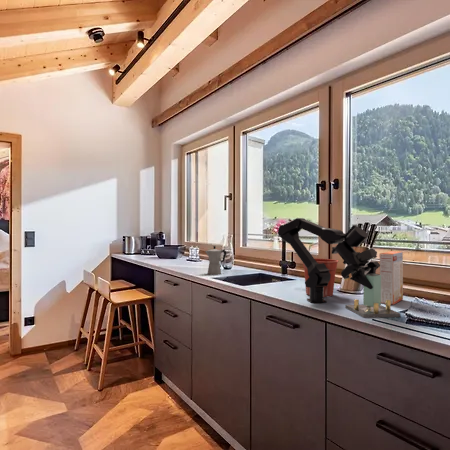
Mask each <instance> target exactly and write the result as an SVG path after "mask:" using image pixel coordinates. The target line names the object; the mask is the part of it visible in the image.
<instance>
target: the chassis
mask: <svg viewBox="0 0 450 450" xmlns="http://www.w3.org/2000/svg"><path fill="white" fill-rule="evenodd" d="M359 302H360V301H359V299H357V298H356V299H353V304H345V305H344V306H345V307H344V308H345V309H346V310H348V311H349V312H353V313H355V314H356V315H358V316H360V317H362V318H365V319H367V318H368V319H369V318H370V319H371V318H401V313H400V312H397V311H396V310H393V309H391V305H392V304H391V300H386V304H385V306H383V305H380V306H379V303H374V307H371V306H366V305H363V304H360V303H359Z"/></svg>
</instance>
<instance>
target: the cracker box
mask: <svg viewBox="0 0 450 450" xmlns="http://www.w3.org/2000/svg"><path fill="white" fill-rule="evenodd" d="M403 253H404V252H402V251H397V250H395V251H393V250H392V251H391V250H390V251H385V252H380V253H379V264H380V267H379V274H380V275H381V304H385V305H386V300H391V305H395V304H398V303H399V302H401V301H403V300H404V270H403V269H404V267H403V264H404V261H403V259H404V257H403V255H404V254H403Z"/></svg>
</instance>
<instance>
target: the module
mask: <svg viewBox="0 0 450 450" xmlns="http://www.w3.org/2000/svg"><path fill="white" fill-rule="evenodd" d="M365 276H366V277H367V279H368V280H369V282H370V283H371V285H372V286H373V288H372V289H369V288H367V287H365V286H363V295H362V296H363V304H362V305H366V306H371V307H374V303H379V306H380V305H381V304H382V303H381V275H380V273H379V274H378V273H376V274H365ZM381 306H382V305H381Z"/></svg>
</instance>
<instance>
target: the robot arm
mask: <svg viewBox="0 0 450 450" xmlns="http://www.w3.org/2000/svg"><path fill="white" fill-rule="evenodd" d="M302 230H304V231H306V232H309V233H311V234H313V235H316V236H318V237H319V238H320V239H321V240H322V241H323V242H325V243H326V244H328V245H335V246H332V247H331V254H332V255H337V254H338V255H339V256H340V258H341V259H342V260H343V261H342V263H343V265H346V266H345V267H344V268H343V270H341V271H340V272H341V273H340V274H341V277H342V278H343V279H344V280H346V279H350V281H354V282H356V283H358V284H360V285H362V286H363V287H364V286H365V287H367V288H369V289H372V288H373V286H372V285H371V283H370V282H369V280H368V279H367V277H366V276H365V274H377V273H376V272H377V270H378V269H380V262H379V261H377V260H375V261H369V260H372V259H376V258H378V256H377V255H378V251H377V250H376V249H374V248H373V247H372V248H368V249H366V250H363V251H361V252H359V251H358V252H357V251H356V250H355V249H354V248H359V246H361V244H363V242H364V241H365V240H366V239H367V238H368V237H369V235H368V233H367V231H366V230H363V228H361V227H359V226H358V225H356V224H353V225H352V226H351V227H350V229H349V230H348V231H347V232H346V233H344V232H343V231H342V230H341V229H335V228H331V227H330V228H329V227H324V226H322V225H319V224H318V223H314V222H312V221H311V220H308V219H305V218H303V217H300V218H299V217H297V218H294V219H293V220H291V221H289V222H286V223H284V224H281V225H279V226H278V228H277V234H278V236H279V238H281V239H282V240H283V241H284V242H286V243H287V244H289V245H290V247H291V248H292V250H293V251H294V252H295V254H297V256H298V258H299V259H300V261H301V262H302V264H303V263H304V265H305V266H306V267H307V270H308V276H309V278H308V279H307V280H306V281H305V280H304V285H306V286H305V288H306V287H309V288H310V295H309V298H306V300H307V301H308V302H309V303H311V304H320V303H322V304H323V303H327V300H325V299H324V298H325V297H324V287H325V286H327V285H328V282H329V281H330V279H331V274H330V272H329V271H330V270H329V269H328V268H327V267H326V265H325V264H324V263H322V264H319V263H317V262H316V260H315V259H314V258H315V257H313V255H312V253H311V252H310V250H309V249H308V248H307V247H306V245H304V243H303V242H302V240H301V239H300V234H299V233H300V232H301V231H302ZM350 275H351V277H350Z"/></svg>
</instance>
